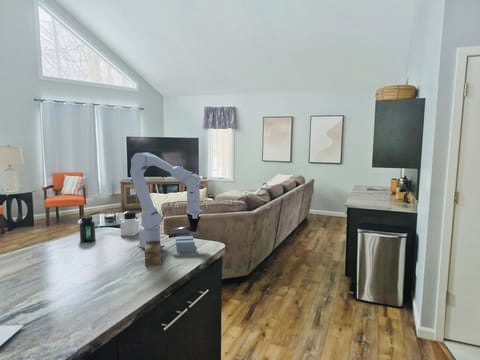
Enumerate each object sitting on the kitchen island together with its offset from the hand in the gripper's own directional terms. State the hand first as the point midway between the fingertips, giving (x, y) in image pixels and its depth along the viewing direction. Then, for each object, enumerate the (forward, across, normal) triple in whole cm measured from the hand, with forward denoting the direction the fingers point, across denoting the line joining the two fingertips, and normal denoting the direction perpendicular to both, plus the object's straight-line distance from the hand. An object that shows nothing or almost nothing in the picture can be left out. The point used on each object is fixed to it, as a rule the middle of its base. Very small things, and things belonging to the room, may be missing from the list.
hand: (193, 230), depth 146 cm
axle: (0, 0, +4) cm, 4 cm away
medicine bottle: (+9, +30, +31) cm, 44 cm away
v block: (+9, +2, +4) cm, 10 cm away
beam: (+9, -9, +18) cm, 22 cm away
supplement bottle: (+9, +22, +50) cm, 55 cm away
